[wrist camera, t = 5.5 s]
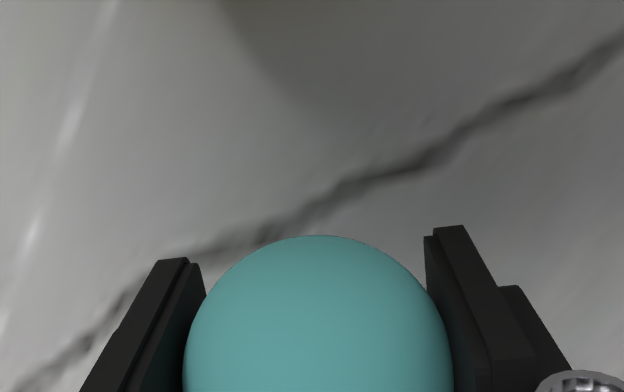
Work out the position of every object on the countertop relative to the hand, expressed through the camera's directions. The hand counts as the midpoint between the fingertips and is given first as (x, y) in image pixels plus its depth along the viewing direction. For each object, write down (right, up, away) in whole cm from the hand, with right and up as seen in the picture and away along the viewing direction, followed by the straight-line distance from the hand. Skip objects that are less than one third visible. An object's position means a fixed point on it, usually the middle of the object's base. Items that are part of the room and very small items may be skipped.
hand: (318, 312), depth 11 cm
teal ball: (0, 0, +1) cm, 1 cm away
